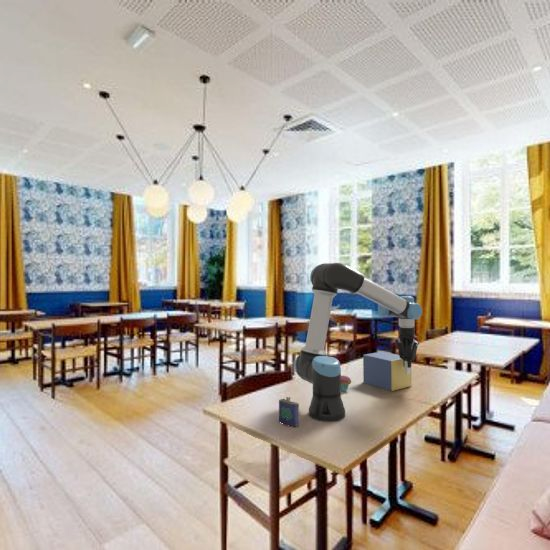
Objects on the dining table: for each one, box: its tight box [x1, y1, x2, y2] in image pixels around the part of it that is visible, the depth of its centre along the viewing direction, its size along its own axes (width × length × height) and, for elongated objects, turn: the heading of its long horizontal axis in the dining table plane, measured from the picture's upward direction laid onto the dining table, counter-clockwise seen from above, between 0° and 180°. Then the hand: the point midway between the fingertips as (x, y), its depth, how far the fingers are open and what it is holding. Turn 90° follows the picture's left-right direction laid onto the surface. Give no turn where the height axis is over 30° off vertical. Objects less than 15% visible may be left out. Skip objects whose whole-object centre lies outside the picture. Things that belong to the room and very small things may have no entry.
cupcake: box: [341, 375, 352, 392], centre depth 192 cm, size 9×8×12 cm
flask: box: [278, 396, 300, 428], centre depth 148 cm, size 9×3×11 cm, turn 51°
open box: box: [362, 351, 401, 391], centre depth 201 cm, size 15×18×15 cm
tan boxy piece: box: [390, 359, 413, 392], centre depth 200 cm, size 15×17×15 cm
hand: (407, 373), depth 190 cm, fingers closed
